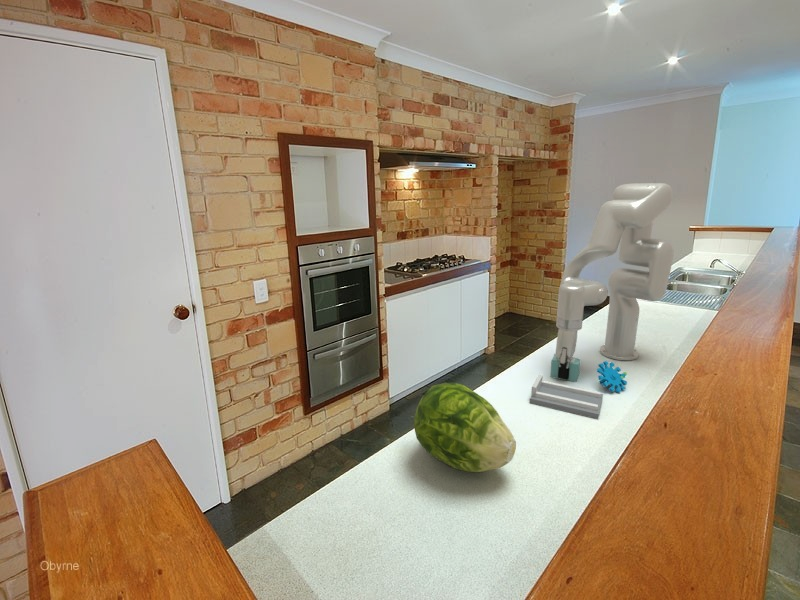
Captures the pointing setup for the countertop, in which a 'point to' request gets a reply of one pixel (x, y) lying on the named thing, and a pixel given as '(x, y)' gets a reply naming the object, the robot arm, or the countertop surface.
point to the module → (573, 365)
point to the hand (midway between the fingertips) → (564, 374)
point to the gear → (611, 377)
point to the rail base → (566, 398)
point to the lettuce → (462, 429)
